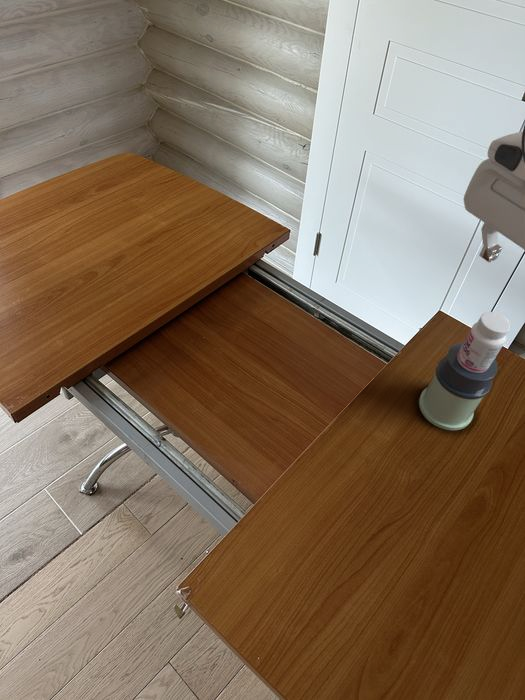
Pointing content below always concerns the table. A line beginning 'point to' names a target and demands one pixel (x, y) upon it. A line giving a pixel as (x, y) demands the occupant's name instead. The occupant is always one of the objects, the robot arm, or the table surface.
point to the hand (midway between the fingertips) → (517, 280)
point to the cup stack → (454, 392)
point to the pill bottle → (483, 342)
